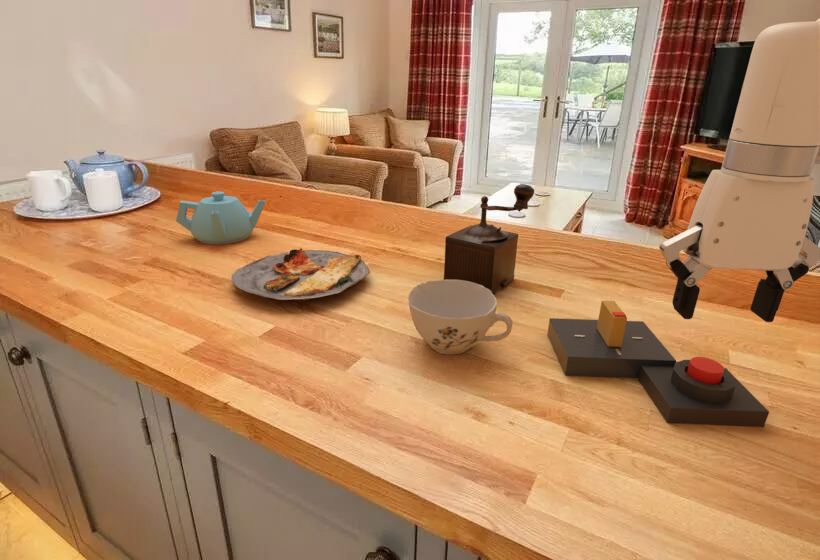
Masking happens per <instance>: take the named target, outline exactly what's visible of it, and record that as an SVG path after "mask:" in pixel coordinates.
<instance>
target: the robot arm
mask: <svg viewBox="0 0 820 560" xmlns="http://www.w3.org/2000/svg"><path fill="white" fill-rule="evenodd" d="M815 165H820V17H819V18H818V19H817V20H815V21H814V20H813V21H793V22H784V23H783V22H782V23H777V24H773V25H771V26H767V27H766V28H765V29H763V30H762V31H760V33H759V34H758V35H757V37H756V39H755V41H754V43H753V47H752V50H751V53H750V57H749V60H748V64H747V69H746V72H745V76H744V79H743V83H742V86H741V91H740V95H739V99H738V103H737V106H736V110H735V114H734V118H733V122H732V127H731V130H730V134H729V137H728V141H727V145H726V148H725V153H724V156H723V160H722V163H721V167H720V169H712V170H711V172H710V173H709V175H708V177H707V179H706V181H705V183H704V185H703V187H702V189H701V192H700V194H699V196H698V198H697V200H696V202H695V206H694V207H693V208H694V209H693V212H692V214H691V217H690V220H689V223H688V225H687V229H686V230H684V231H682V232H681V233H679V234H677V235H674V236H672V237H671V238H668V239H667V240H664V241H662V242H661V243H659V246H658V248H659V250H660V253H661V256H662V257H663V259H664V260H665V264H666V266H667V268H669V270H670V271H671V272H672V273H673V275H674V276H675V277H676V278H677V281H676V285H675V290H674V293H673V298H672V306H673V309H674V310H675V311H676V313H678V315H679V316H681V317H682V318H683V319H684V320H691V319H693V317H694V314H695V310H696V306H697V302H698V299H699V296H700V291H701V289H700V287H699V286H698V285H697V284H698V283H699V282H700V281H701V280H702V279H703V278H704V277H705V276H706V275H707V274H708V273H709V272H710V271H711V270H712V269H714V270H732V271H733V270H734V271H735V270H736V271H762V272H763V273H764V276H765V278H760V280H759V281H758V283H757V286H756V288H755V289H756V290H755V292H754V296H753V298H752V302H751V305H750V311H751V313H753V314H755V315H756V316H757V317H759V318H760V319H761V320H763V321H764V322H766V323H773V322H774V320H775V318H776V314H777V311H778V310H779V308H780V305H781V302H782V299H783V296H784V293H785V291H788V290H790V289H792V288H793V287H794V285H795V284H794V283H795V282H796V281H797V280H799V279H801V278H802V277H804V276H805V275H807V274H808V273H809V270H810V268H812V267H813V266H814V265H816V264H817V263H818V262H819V261H820V246H819V245H817V244H816V243H815V242H813V241H812V240H811V239H810V238H809V237H807V236H806V234H807V230H808V226H809V223H810V218H811V214H812V207H813V202H814V194H815V193H814V192H815V178H814V177H811V174H812V172H813V170H814V166H815ZM681 251H682V252H684V254H686V255H688V257H687V258H686V259H685V260H684V261H682V260H681V256H680V252H681Z"/></svg>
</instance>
